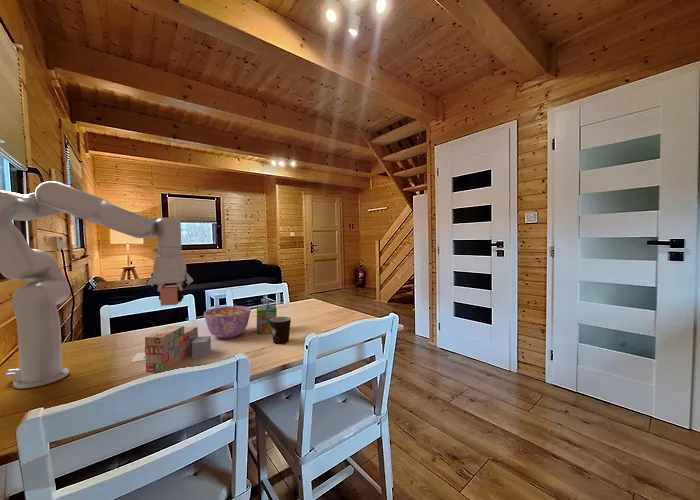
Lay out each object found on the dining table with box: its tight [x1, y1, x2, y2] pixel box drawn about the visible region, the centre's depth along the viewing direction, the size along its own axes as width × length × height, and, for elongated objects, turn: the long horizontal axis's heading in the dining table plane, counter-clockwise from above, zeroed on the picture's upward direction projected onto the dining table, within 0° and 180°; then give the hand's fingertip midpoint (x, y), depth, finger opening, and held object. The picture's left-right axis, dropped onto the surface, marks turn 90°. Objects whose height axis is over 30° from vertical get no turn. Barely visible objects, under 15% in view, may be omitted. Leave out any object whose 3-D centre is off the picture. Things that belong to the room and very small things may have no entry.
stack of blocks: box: [144, 325, 199, 373], centre depth 112 cm, size 21×6×12 cm, turn 177°
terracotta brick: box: [159, 284, 182, 307], centre depth 111 cm, size 5×7×6 cm
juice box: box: [256, 299, 278, 335], centre depth 145 cm, size 9×9×15 cm
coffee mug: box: [270, 316, 292, 345], centre depth 131 cm, size 12×9×10 cm
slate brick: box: [191, 335, 212, 359], centre depth 117 cm, size 5×7×6 cm
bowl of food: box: [203, 305, 252, 339], centre depth 139 cm, size 20×20×12 cm
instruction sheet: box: [131, 351, 146, 363], centre depth 116 cm, size 12×9×1 cm
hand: (171, 300), depth 111 cm, fingers closed on terracotta brick, 5 cm apart
